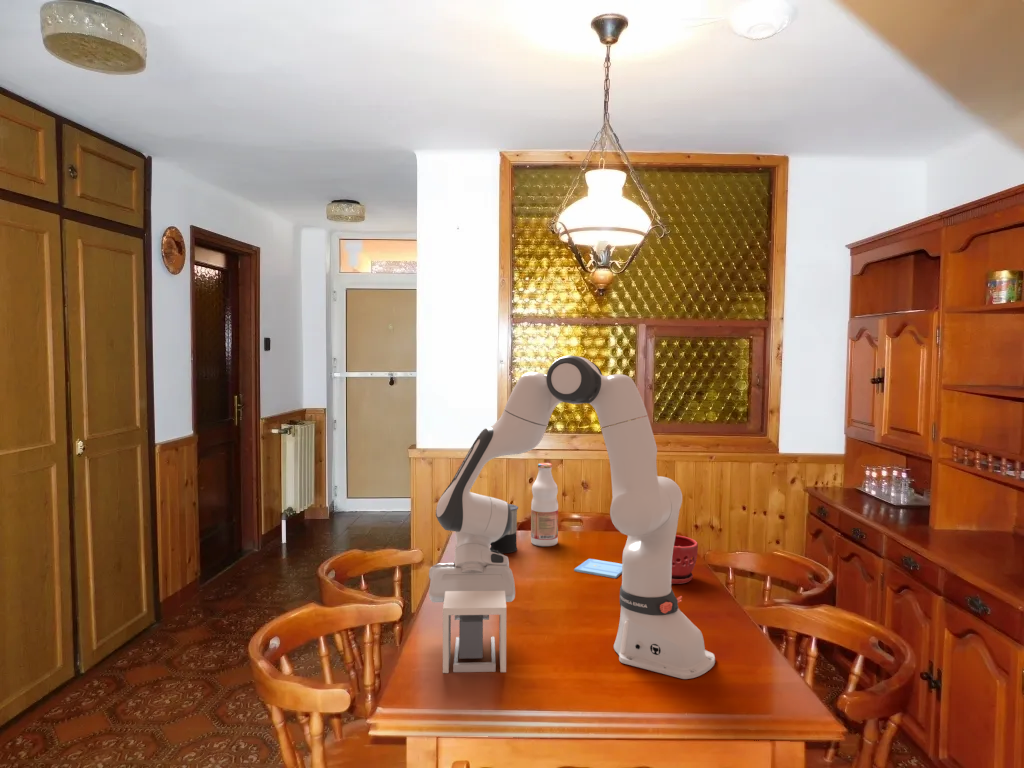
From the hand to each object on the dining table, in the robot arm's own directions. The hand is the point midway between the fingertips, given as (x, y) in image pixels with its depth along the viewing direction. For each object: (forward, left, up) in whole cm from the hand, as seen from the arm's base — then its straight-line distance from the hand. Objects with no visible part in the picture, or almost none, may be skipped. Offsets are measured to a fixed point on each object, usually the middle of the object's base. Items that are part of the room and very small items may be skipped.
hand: (471, 618), depth 157 cm
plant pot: (-11, -73, -7) cm, 74 cm away
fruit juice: (+41, -75, -7) cm, 86 cm away
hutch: (-3, +2, -7) cm, 7 cm away
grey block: (-3, +3, -4) cm, 6 cm away
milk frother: (+45, -56, -7) cm, 72 cm away
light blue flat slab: (+10, -66, -7) cm, 67 cm away
